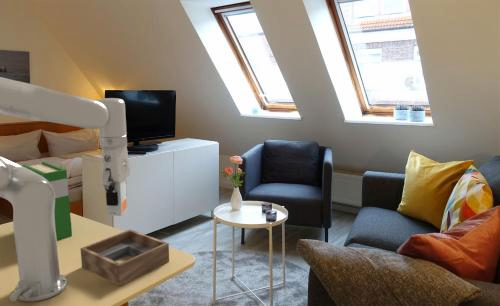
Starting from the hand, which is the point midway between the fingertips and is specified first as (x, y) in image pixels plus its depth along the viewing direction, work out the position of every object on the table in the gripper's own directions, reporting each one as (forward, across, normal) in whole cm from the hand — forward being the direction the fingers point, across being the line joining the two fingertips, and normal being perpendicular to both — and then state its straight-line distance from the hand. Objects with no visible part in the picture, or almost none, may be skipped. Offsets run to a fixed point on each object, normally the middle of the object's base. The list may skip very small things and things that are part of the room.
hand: (116, 200), depth 121 cm
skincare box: (+4, 0, 0) cm, 4 cm away
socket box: (+20, -2, -2) cm, 20 cm away
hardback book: (+20, +20, +33) cm, 43 cm away
